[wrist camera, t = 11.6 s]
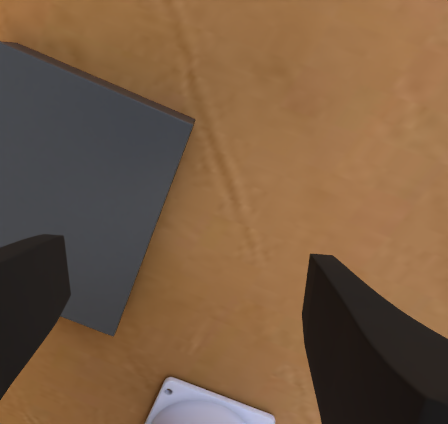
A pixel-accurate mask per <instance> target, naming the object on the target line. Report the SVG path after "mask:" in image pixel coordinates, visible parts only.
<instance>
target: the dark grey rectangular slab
mask: <svg viewBox="0 0 448 424" xmlns="http://www.w3.org/2000/svg"><path fill="white" fill-rule="evenodd" d="M194 122H195V119H193V118H191V117H188V116H186V115H184V114H182V113H179V112H177V111H175V110H172V109H170V108H168V107H165V106H163V105H161V104H158V103H156V102H154V101H151V100H149V99H147V98H144V97H142V96H140V95H137V94H135V93H133V92H130V91H128V90H126V89H123V88H121V87H119V86H116V85H114V84H112V83H109V82H107V81H105V80H102V79H100V78H98V77H95V76H93V75H91V74H88V73H86V72H84V71H81V70H79V69H77V68H74V67H72V66H70V65H67V64H65V63H63V62H60V61H58V60H56V59H53V58H51V57H49V56H46V55H44V54H42V53H39V52H37V51H35V50H32V49H30V48H28V47H25V46H23V45H21V44H18V43H13V42H1V41H0V247H3V246H6V245H8V244H11V243H14V242H17V241H20V240H23V239H26V238H30V237H33V236H37V235H42V234H50V235H64V240H65V248H66V257H67V265H68V273H69V282H70V290H71V296H70V298H69V300H68V302H67V304H66V306H65V308H64V310H63V312H62V314H61V315H60V316H61V317H64V318H66V319H69V320H71V321H74V322H77V323H79V324H82V325H84V326H87V327H90V328H92V329H95V330H97V331H100V332H103V333H105V334H108V335H111V336H114V335H115V333H116V330H117V327H118V325H119V322H120V319H121V317H122V314H123V311H124V309H125V306H126V304H127V301H128V298H129V296H130V293H131V290H132V288H133V285H134V282H135V280H136V277H137V274H138V272H139V269H140V266H141V264H142V261H143V258H144V256H145V253H146V250H147V248H148V245H149V242H150V240H151V237H152V234H153V232H154V229H155V226H156V224H157V221H158V219H159V216H160V213H161V211H162V208H163V205H164V203H165V200H166V197H167V195H168V192H169V189H170V187H171V184H172V181H173V179H174V176H175V173H176V171H177V168H178V165H179V163H180V160H181V157H182V155H183V152H184V149H185V147H186V144H187V141H188V139H189V136H190V134H191V131H192V128H193V126H194Z"/></svg>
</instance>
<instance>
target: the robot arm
mask: <svg viewBox="0 0 448 424" xmlns="http://www.w3.org/2000/svg"><path fill="white" fill-rule="evenodd" d="M70 296H71V290H70V282H69V273H68V265H67V257H66V248H65V240H64V235H50V234H42V235H37V236H33V237H30V238H26V239H23V240H20V241H17V242H14V243H11V244H8V245H6V246H3V247H0V400H1V398H2V397H3V395H4V394H5V393H6V391H7V390H8V388H9V387H10V385H11V384H12V383H13V381H14V380H15V378H16V377H17V376H18V374H19V373H20V372H21V370H22V369H23V368H24V366H25V365H26V364H27V362H28V361H29V360H30V358H31V357H32V356H33V354H34V353H35V352H36V350H37V349H38V348H39V346H40V345H41V344H42V342H43V341H44V339H45V338H46V337H47V335H48V334H49V332H50V331H51V330H52V328H53V327H54V325H55V324H56V323H57V321H58V319H59V317H60V315H61V314H62V312H63V310H64V308H65V306H66V304H67V302H68V300H69V298H70ZM302 321H303V333H304V344H305V349H306V354H307V358H308V363H309V367H310V372H311V376H312V381H313V385H314V390H315V394H316V398H317V403H318V407H319V412H320V416H321V422H322V424H448V339H447V338H445V337H443V336H442V335H440V334H438V333H436V332H434V331H433V330H431V329H429V328H428V327H426V326H424V325H423V324H421V323H420V322H418V321H416V320H415V319H413V318H411V317H410V316H408V315H407V314H405V313H404V312H402V311H401V310H399V309H398V308H397V307H395V306H394V305H393V304H391V303H390V302H388V301H387V300H386V299H384V298H383V297H382V296H380V295H379V294H378V293H377V292H375V291H374V290H373V289H372V288H370V287H369V286H368V285H367V284H366V283H364V282H363V281H362V280H361V279H360V278H358V277H357V276H356V275H355V274H354V273H353V272H352V271H350V270H349V269H348V268H347V267H346V266H345V265H344V264H342V263H341V262H340V261H339V260H338V259H336V258H335V257H334V256H332V255H322V254H310V259H309V266H308V273H307V281H306V288H305V296H304V303H303V310H302ZM167 389H170V390H167ZM145 424H275V418H274V416H273V415H271V414H269V413H266V412H264V411H261V410H258V409H256V408H253V407H250V406H248V405H245V404H242V403H240V402H237V401H235V400H232V399H229V398H227V397H224V396H221V395H219V394H216V393H214V392H211V391H208V390H206V389H203V388H200V387H198V386H195V385H192V384H190V383H187V382H185V381H182V380H179V379H177V378H174V377H168V378H166V379H165V381H164V383H163V385H162V387H161V390H160V392H159V394H158V396H157V398H156V400H155V402H154V405H153V407H152V409H151V411H150V413H149V415H148V417H147V420H146V422H145Z"/></svg>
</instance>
